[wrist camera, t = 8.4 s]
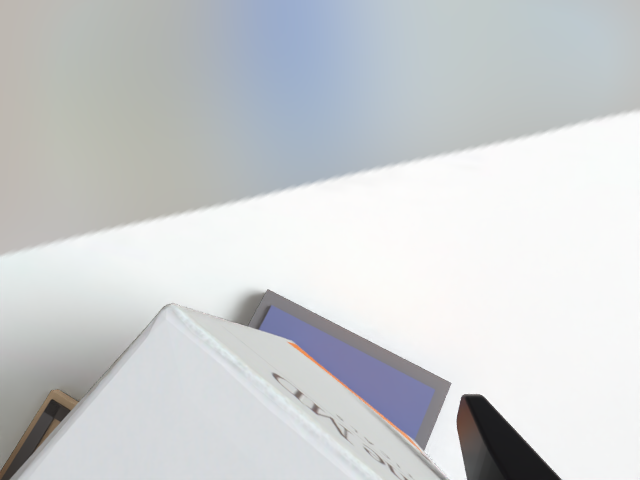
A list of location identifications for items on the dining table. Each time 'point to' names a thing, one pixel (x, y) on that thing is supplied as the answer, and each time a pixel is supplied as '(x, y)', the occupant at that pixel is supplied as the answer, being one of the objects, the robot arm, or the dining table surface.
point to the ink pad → (360, 366)
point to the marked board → (39, 430)
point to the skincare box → (222, 414)
